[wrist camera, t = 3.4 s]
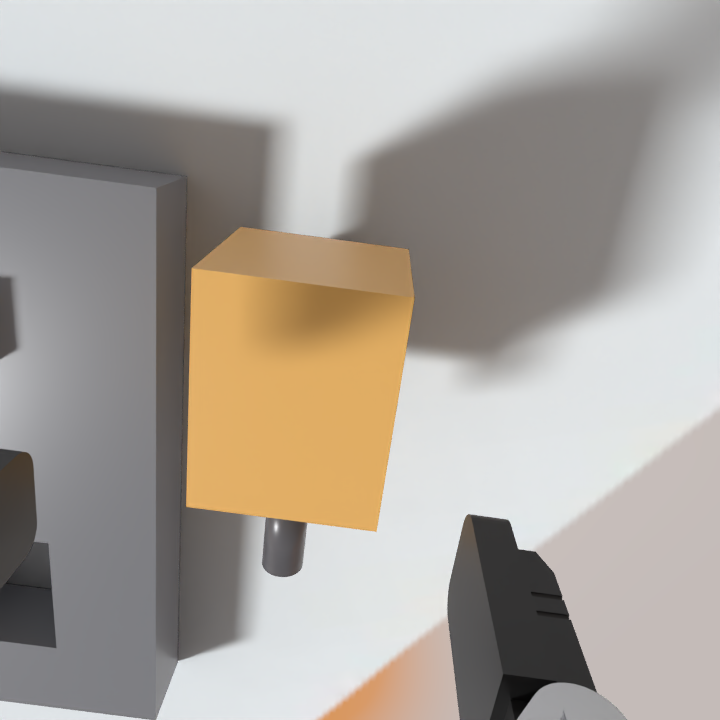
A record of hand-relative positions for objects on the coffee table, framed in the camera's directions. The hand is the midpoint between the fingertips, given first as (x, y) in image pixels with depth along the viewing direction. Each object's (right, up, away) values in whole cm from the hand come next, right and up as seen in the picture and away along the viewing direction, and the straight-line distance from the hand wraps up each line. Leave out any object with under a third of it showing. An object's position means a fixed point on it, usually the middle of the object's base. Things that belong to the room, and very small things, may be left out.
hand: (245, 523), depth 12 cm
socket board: (-11, 0, +14) cm, 17 cm away
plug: (+1, +4, +12) cm, 12 cm away
